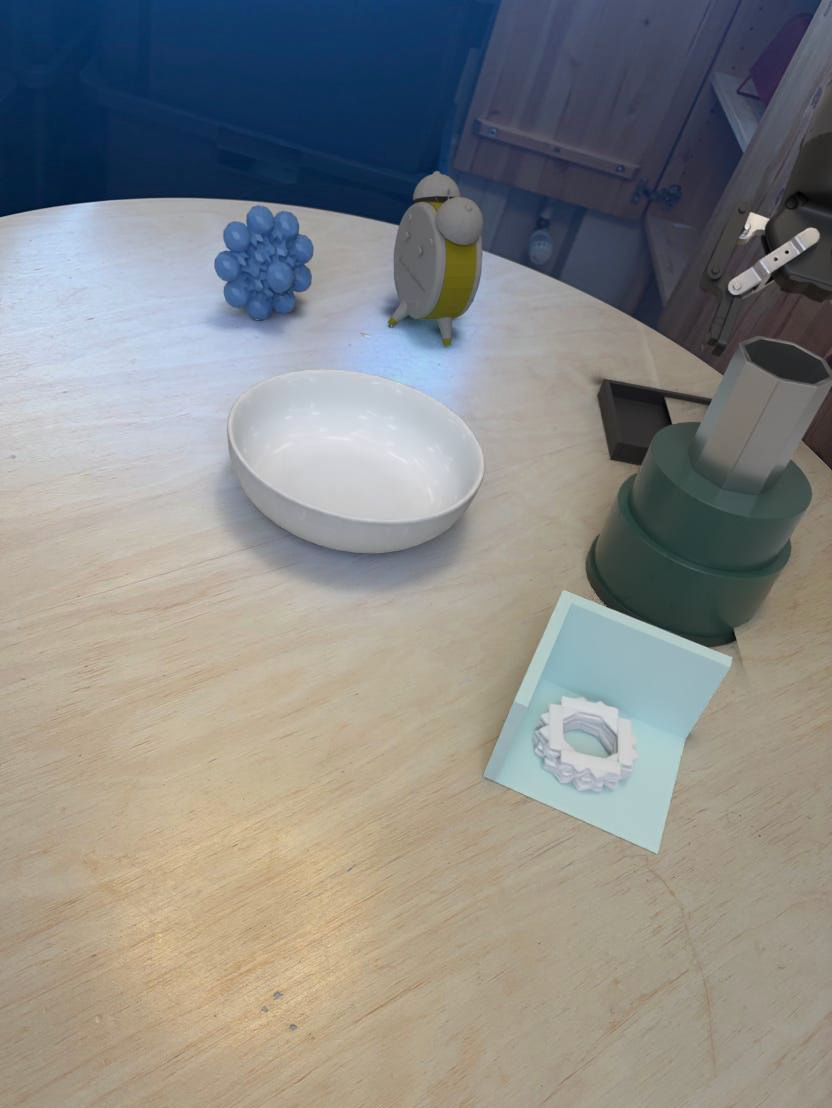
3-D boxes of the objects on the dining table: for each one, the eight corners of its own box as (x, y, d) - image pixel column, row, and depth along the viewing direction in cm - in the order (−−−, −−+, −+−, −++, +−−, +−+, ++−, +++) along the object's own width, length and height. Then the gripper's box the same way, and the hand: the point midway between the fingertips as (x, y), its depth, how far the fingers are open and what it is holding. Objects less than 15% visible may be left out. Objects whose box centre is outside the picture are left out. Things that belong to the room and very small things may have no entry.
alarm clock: (463, 352, 106) (500, 212, 96) (406, 353, 104) (437, 210, 93) (423, 300, 113) (454, 165, 103) (368, 300, 111) (394, 162, 101)
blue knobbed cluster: (231, 347, 99) (241, 229, 90) (199, 316, 102) (206, 199, 94) (327, 330, 104) (345, 217, 96) (294, 301, 108) (308, 190, 100)
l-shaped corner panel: (482, 776, 65) (513, 700, 59) (531, 664, 73) (563, 589, 68) (657, 854, 62) (706, 783, 57) (687, 729, 71) (732, 657, 66)
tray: (708, 415, 105) (715, 399, 103) (731, 481, 96) (740, 464, 95) (597, 394, 104) (603, 378, 103) (610, 459, 95) (617, 442, 94)
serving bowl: (278, 610, 73) (289, 538, 68) (187, 449, 85) (191, 379, 80) (511, 564, 81) (535, 497, 76) (397, 424, 94) (412, 358, 89)
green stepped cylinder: (735, 546, 88) (799, 432, 80) (773, 660, 78) (851, 544, 69) (578, 517, 87) (625, 400, 79) (595, 629, 77) (651, 508, 69)
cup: (762, 451, 77) (818, 347, 71) (782, 499, 72) (844, 392, 66) (683, 437, 76) (733, 330, 70) (698, 484, 72) (752, 375, 66)
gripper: (771, 100, 67) (690, 321, 67) (981, 159, 66) (898, 385, 65) (741, 159, 75) (668, 358, 75) (929, 213, 73) (854, 417, 73)
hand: (775, 370), depth 70 cm, fingers open, 8 cm apart
